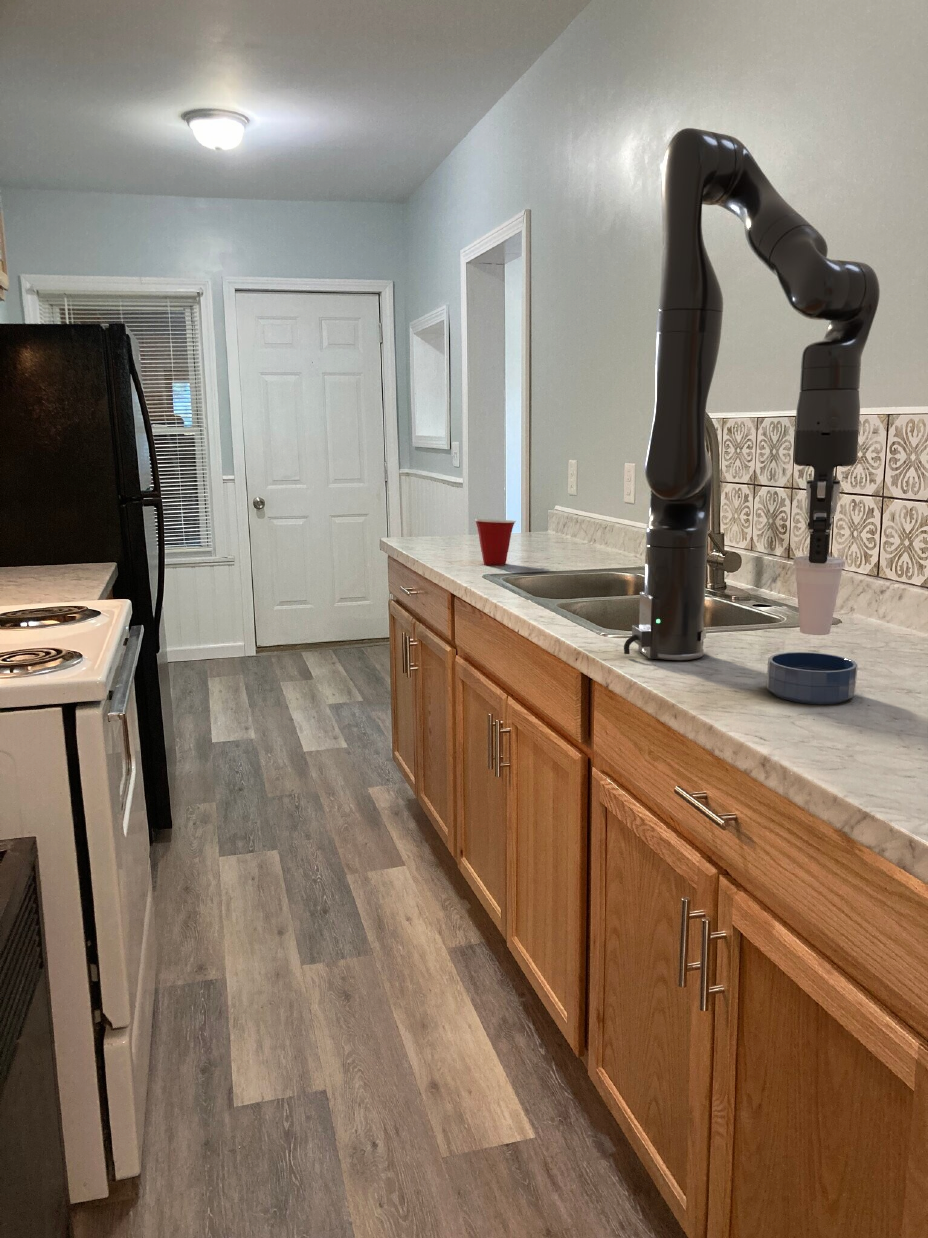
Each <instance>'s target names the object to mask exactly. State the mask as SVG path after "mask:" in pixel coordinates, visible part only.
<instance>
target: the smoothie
mask: <svg viewBox="0 0 928 1238" xmlns="http://www.w3.org/2000/svg"><path fill="white" fill-rule="evenodd" d="M826 534H828V533H826ZM792 567H794V568H795V580H796V581H795V582H796V596H797V610H798V625H799V632H800V633H801V634H805V635H809V636H810V635H811V636H827V635H830V634H831V630H832V624H833V619H834V615H835V609H836V604H837V600H838V599H837V598H838V593H839V589H840V585H841V580H842V574H843V569H845V568H846V559H844V558H841V557H835V556H828V558H827V562H826V563H824V564H821V563H810V562H809V555H803V556H796V557H793V564H792Z"/></svg>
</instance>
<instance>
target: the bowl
mask: <svg viewBox="0 0 928 1238" xmlns="http://www.w3.org/2000/svg"><path fill="white" fill-rule="evenodd" d="M766 671H767V672H766V688H767V690H768V691H769V692H771V693H772V694H773V695H774V696H776V697H777V698H780V699H782V700H787V701H789V702H793V703H794V702H795V703H800V704H808V705H834V704H841V703H844V702H846V701H847V700H849V699H851V698H854V697H855V695H856V692H857V678H858V663H857V662H856V661H855V660H853V659H850V658H847V657H844V656H841V655H840V656H839V655H835V654H829V653H821V652H809V651H790V652H789V651H787V652H781V653H776V654H772V655H770V656H769V657H768V658H767V670H766Z"/></svg>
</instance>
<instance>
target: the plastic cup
mask: <svg viewBox="0 0 928 1238" xmlns="http://www.w3.org/2000/svg"><path fill="white" fill-rule="evenodd" d="M474 522H475V524H476V528H477V534H478V538H479V545H480V552H481V555H482V562H483V565H485V566H492V567H493V566H505V565H506V563H507V561H508V560H507V558H508V553H509V549H510V543H511V536H512V532H513V528H514V526H515V523H516V522H517V521H516V520H512V519H511V520H510V519H496V518H495V519H494V518H492V519H491V518H475V519H474Z"/></svg>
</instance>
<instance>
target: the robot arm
mask: <svg viewBox="0 0 928 1238" xmlns="http://www.w3.org/2000/svg"><path fill="white" fill-rule="evenodd" d="M703 205H704V206H718V207H720V208H723V209H725V210H726V211H728V212H730V213H731V214H733V215H735V216H736V217H737V218H738V219H739V220H740V221H741V222H742V224H743V228H744V229H743V230H744V235H745V240H746V242H747V245H748V246H749V248H750V250H751V251H752V253H754V255H755V257H756V258H758V260H759V261H760V262H761V263H762V264H763V265H765V266H766V268H767V269H768V270H769V271H770V272H771V273H772V274H773V275H775V277H776V278H777V280H778V283H779V286H780V288H781V289H782V292H783V294H784V296H785V299H786V300H787V302H788V304H789V305H790V307H791V308H792V309H793V310H794V311H795V312H797V313H798V314H799V315H800V316H801V317H804V318H806V319H809V320H812V321H813V320H814V321H828V322H829V323H828V326H827V329H826V333H825V335H824V337H823V338H822V340H818V341H814V342H811V343H809V344H807V345H806V346H805V347H804V349H803V351H802V354H801V361H800V377H799V378H800V379H799V380H800V381H799V392H798V400H797V404H796V411H795V428H794V429H795V430H794V446H793V447H794V450H793V463H794V465H795V466H799V467H811V468H812V469H813V478H812V479H807V481H806V485H805V486H806V487H805V494H806V496H807V499H806V516H807V517H808V522H807V530H808V533H809V543H808V544H809V546H808V556H809V562H810V563H821V564H824V563H826V562H827V558H828V557H829V554H830V545H831V543H830V541H831V531H832V526H833V525H834V520H833V519H834V517H835V516H836V513H837V507H838V496H839V495H840V491H841V480H839V479H837V478H836V475H835V468H837V467H851V466H855V465H856V464H857V462H858V451H859V450H858V447H859V433H860V432H859V431H860V418H861V401H860V387H861V370H862V369H861V367H862V356H863V352H864V349H865V347H866V344H867V341H868V340H869V336H870V332H871V329H872V326H873V323H874V320H875V317H876V314H877V311H878V307H879V303H880V294H881V289H880V282H879V279H878V276H877V273H876V271H875V270H874V268H873V267H872V266H871V265H869V264H868V263H865V262H862V261H856V260H855V261H853V260H842V259H830V258H828V252H829V249H828V244H827V241H826V239H825V237H824V236H823V235H822V234H821V233H820V232H819V230H818V229H817V228H815V227H814V226H813V225H812V224H811V223H810V222H809V221H808V220H806V218H805V217H803V216H802V215H801V214H800V213H799V212H798V211H797V210H796V209H794V208H793V207H792V205H790V204H789V203H788V202H787V201H786V200H785V199H784V197H783V196H782V195H780V193H779V192H778V191H777V190H776V188H775V187H774V186H773V184H772V182H771V181H770V180H769V178H768V177H767V175H766V174H765V173H764V171H763V170H762V169H761V167H760V166H759V164H758V163H757V160H756V159H755V158H754V156H753V155H752V153H751V151H749V149H748V148H747V147H746V146H745V144H743V142H742V141H740V140H739V139H738V138H736V137H735V136H732V135H729V134H724V133H720V132H715V131H709V130H706V129H700V128H693V127H686V128H682V129H681V130H679V131H678V132H677V133H675V134H674V135H673V136H672V138H671V140H670V142H669V143H668V145H667V147H666V150H665V153H664V158H663V163H662V170H661V224H662V225H661V234H662V235H661V236H662V239H661V240H662V243H661V245H662V246H661V249H662V250H661V269H660V271H661V272H660V287H659V297H658V305H657V316H656V317H657V318H656V332H655V333H656V334H655V361H654V364H655V365H654V367H655V368H654V382H655V383H654V384H655V387H654V388H655V402H654V413H653V420H652V426H651V432H650V438H649V442H648V443H649V444H648V449H647V453H646V459H645V464H644V475H645V480H646V483H647V485H648V487H649V489H650V498H649V499H650V500H649V513H648V520H647V524H646V529H645V551H644V552H645V553H644V555H645V557H644V587H643V588H644V589H643V590H644V591H640V592H639V608H638V609H639V610H638V611H639V612H638V613H639V614H638V624H632V625H631V636H630V637H628V638H627V639H626V640H625V642H624V644H623V654H624V655H630V654H631V653H630V652H631V651H630V646H631V645H632V644H633V643H635V644H636V645H638V647H637V648H638V652H640V653H641V654H642V655H644V656H645V657H646V658H648V659H650V660H664V661H689V660H696V659H699V658H702V657H703V656H704V640H705V639H706V638H707V628H705V605H706V586H707V585H706V580H707V561H708V558H707V557H708V538H709V528H710V521H711V507H712V505H711V504H712V491H713V490H712V489H713V487H712V486H713V463H712V459H711V456H710V453H709V452H708V450H707V449H706V412H707V411H706V410H707V403H708V398H709V394H710V389H711V387H712V382H713V379H714V375H715V371H716V366H717V362H718V357H719V351H720V344H721V337H722V327H723V326H722V325H723V313H724V297H723V292H722V288H721V285H720V281H719V279H718V276H717V275H716V274H717V273H716V271H715V269H714V267H713V264H712V261H711V259H710V256H709V254H708V251H707V248H706V245H705V241H704V235H703V219H702V218H703ZM826 533H828V534H826Z"/></svg>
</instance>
